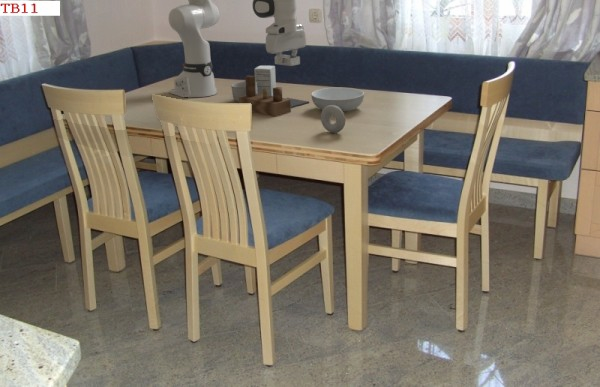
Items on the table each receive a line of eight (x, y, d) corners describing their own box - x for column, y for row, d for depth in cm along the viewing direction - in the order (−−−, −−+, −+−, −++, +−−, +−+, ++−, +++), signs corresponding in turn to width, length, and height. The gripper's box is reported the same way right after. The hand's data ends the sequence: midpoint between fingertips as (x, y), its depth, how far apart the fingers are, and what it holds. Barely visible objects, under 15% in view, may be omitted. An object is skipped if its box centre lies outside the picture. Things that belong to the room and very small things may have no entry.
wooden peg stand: (239, 109, 299) (237, 77, 295) (255, 105, 306) (253, 73, 301) (275, 116, 287) (273, 83, 282) (290, 111, 293) (289, 79, 288)
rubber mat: (268, 104, 305) (268, 103, 305) (287, 99, 314) (287, 97, 313) (289, 108, 298) (289, 107, 298) (309, 103, 306) (309, 101, 306)
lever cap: (274, 63, 301) (274, 54, 300) (283, 61, 305) (283, 52, 303) (291, 66, 295) (291, 56, 294) (300, 64, 299) (300, 54, 298)
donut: (319, 131, 264) (318, 104, 261) (324, 129, 267) (324, 102, 263) (341, 136, 258) (341, 108, 255) (347, 133, 261) (347, 105, 257)
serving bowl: (304, 114, 288) (303, 97, 286) (321, 102, 307) (321, 86, 304) (355, 118, 281) (355, 100, 279) (370, 105, 300) (370, 88, 297)
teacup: (254, 105, 305) (253, 86, 302) (229, 105, 307) (227, 86, 304) (262, 97, 318) (261, 79, 315) (238, 97, 320) (237, 79, 317)
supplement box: (260, 93, 325) (259, 65, 321) (276, 94, 323) (275, 65, 319) (255, 97, 318) (253, 68, 314) (271, 98, 316) (270, 68, 312)
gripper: (297, 23, 304) (298, 57, 309) (262, 29, 290) (264, 64, 295) (309, 24, 300) (310, 58, 305) (274, 30, 286) (275, 66, 291)
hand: (287, 61), depth 300 cm, fingers closed on lever cap, 5 cm apart
